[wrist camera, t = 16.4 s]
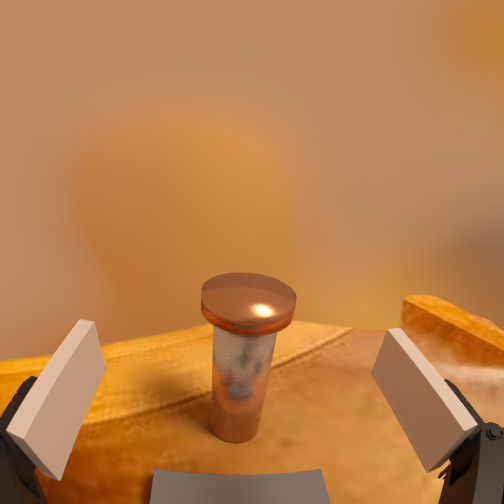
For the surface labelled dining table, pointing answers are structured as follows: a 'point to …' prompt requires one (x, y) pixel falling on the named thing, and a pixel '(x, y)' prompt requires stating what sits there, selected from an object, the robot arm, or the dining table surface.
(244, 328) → the round flanged pin
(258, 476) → the bore plate
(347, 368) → the dining table surface
